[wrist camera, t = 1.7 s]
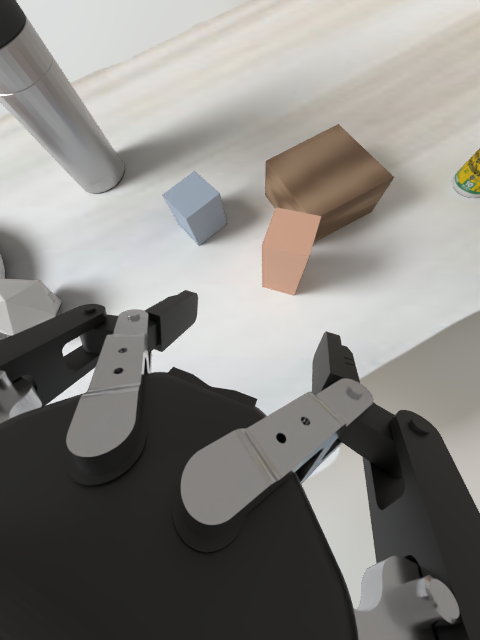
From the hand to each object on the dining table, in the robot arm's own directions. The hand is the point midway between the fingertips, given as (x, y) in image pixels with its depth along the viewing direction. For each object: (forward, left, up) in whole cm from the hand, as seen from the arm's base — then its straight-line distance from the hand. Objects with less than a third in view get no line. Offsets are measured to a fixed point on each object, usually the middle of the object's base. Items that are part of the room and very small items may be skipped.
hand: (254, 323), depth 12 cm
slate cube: (-23, +1, -16) cm, 28 cm away
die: (-20, -28, -16) cm, 38 cm away
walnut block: (-17, +19, -16) cm, 31 cm away
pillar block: (-8, +8, -16) cm, 20 cm away
